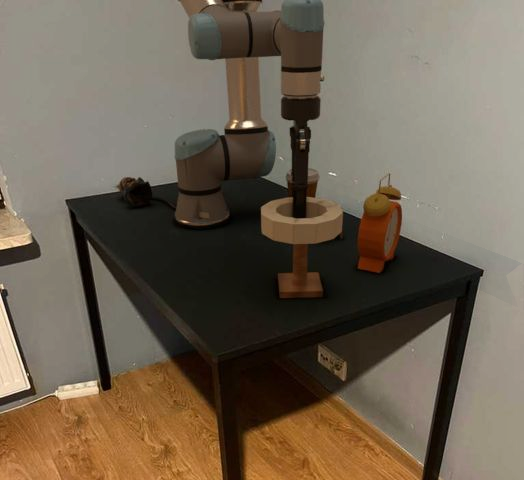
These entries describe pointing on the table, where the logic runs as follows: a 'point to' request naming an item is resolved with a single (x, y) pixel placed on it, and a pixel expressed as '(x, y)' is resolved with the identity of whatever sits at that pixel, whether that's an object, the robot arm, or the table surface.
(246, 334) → the table surface
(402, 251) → the table surface
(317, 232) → the ring
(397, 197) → the alarm clock
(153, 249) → the table surface
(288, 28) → the robot arm
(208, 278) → the table surface
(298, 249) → the stand
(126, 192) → the figurine
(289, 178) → the disposable coffee cup
